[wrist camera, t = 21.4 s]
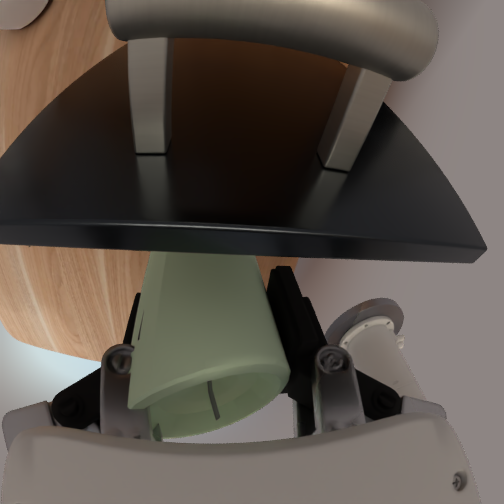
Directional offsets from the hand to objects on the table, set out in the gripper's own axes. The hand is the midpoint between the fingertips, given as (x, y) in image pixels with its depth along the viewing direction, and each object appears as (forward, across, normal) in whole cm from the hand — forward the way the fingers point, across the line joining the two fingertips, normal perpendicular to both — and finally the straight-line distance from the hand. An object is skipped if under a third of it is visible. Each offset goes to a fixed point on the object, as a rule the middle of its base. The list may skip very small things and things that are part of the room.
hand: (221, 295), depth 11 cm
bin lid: (+3, 0, -8) cm, 9 cm away
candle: (+3, +1, 0) cm, 3 cm away
